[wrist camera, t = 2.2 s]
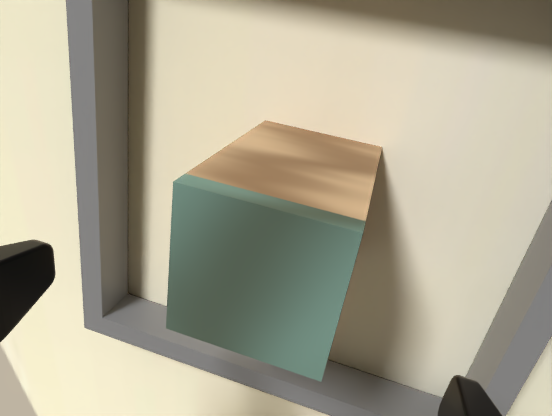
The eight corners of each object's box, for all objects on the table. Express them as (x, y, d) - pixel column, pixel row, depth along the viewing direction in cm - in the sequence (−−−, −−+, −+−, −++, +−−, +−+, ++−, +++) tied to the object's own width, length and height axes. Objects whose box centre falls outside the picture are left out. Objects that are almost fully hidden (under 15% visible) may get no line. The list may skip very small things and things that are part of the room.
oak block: (382, 146, 15) (362, 232, 9) (353, 251, 17) (321, 381, 11) (265, 120, 16) (173, 181, 10) (250, 222, 18) (165, 328, 12)
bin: (718, -46, 11) (779, -60, 9) (469, 425, 19) (475, 467, 17) (101, -123, 14) (57, -144, 12) (110, 303, 22) (84, 327, 20)
